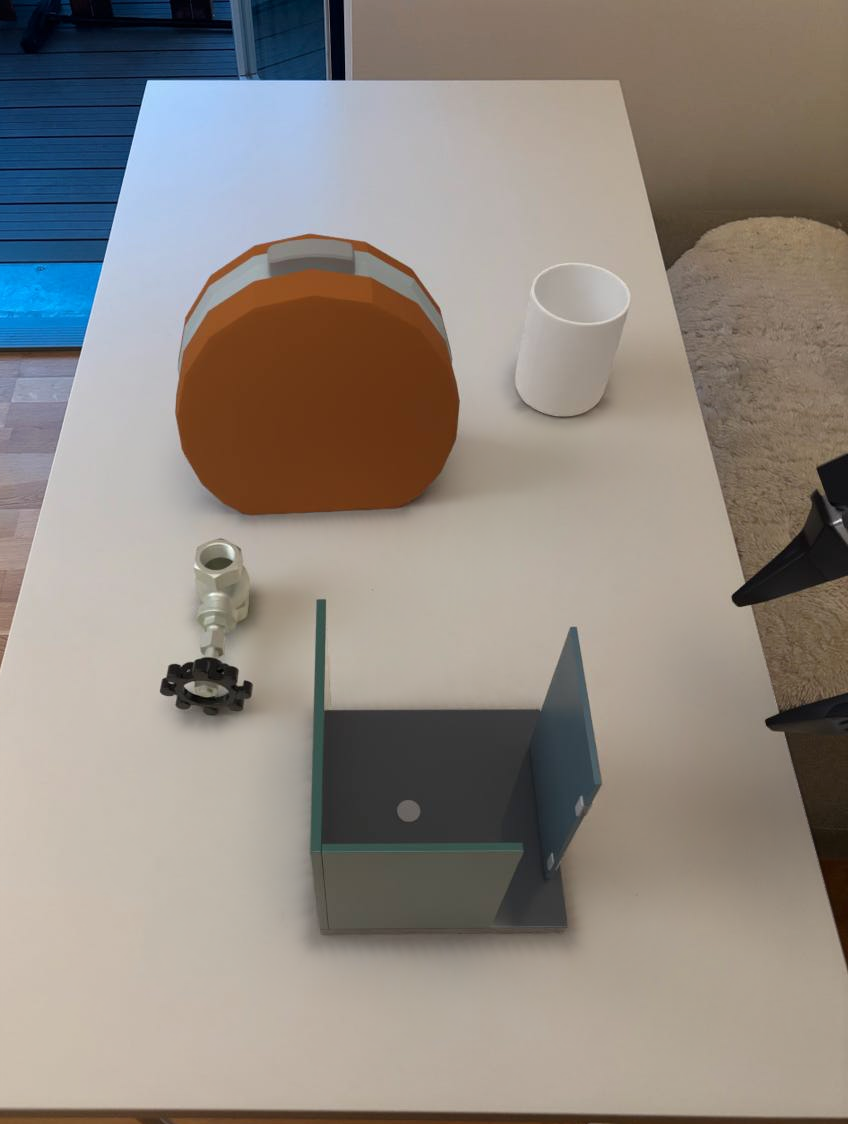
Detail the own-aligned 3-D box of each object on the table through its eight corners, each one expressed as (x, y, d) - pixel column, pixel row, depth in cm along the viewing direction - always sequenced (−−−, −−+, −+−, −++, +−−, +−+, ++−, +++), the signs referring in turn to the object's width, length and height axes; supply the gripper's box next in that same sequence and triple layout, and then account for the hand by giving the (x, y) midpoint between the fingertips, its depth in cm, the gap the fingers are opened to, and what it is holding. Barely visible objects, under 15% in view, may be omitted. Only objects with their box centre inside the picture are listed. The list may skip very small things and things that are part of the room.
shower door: (553, 742, 66) (600, 626, 53) (571, 878, 60) (628, 784, 48) (527, 743, 65) (568, 626, 53) (543, 878, 60) (592, 784, 48)
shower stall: (537, 716, 68) (578, 598, 56) (564, 932, 60) (620, 851, 47) (323, 717, 68) (316, 598, 56) (319, 934, 60) (309, 852, 47)
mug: (582, 333, 92) (607, 236, 84) (613, 416, 86) (643, 321, 77) (499, 339, 92) (514, 242, 83) (523, 423, 85) (543, 327, 76)
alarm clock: (437, 425, 85) (460, 193, 66) (449, 505, 80) (479, 278, 61) (198, 435, 84) (152, 202, 65) (195, 517, 79) (143, 290, 60)
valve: (190, 585, 75) (167, 714, 68) (177, 533, 69) (150, 668, 63) (271, 588, 75) (255, 718, 68) (264, 536, 69) (246, 672, 63)
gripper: (942, 331, 46) (658, 476, 55) (1107, 642, 36) (725, 759, 45) (997, 448, 53) (737, 561, 62) (1148, 737, 43) (810, 823, 52)
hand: (750, 661), depth 55 cm, fingers open, 8 cm apart
